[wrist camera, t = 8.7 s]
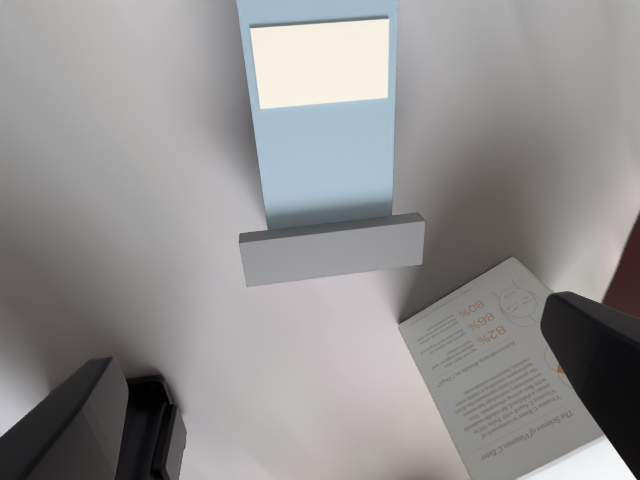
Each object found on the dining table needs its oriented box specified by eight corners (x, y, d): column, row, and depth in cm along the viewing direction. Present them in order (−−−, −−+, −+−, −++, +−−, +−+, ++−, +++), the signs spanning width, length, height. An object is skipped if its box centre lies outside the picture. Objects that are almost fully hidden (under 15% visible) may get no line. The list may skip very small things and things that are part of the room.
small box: (432, 373, 27) (523, 553, 18) (394, 322, 24) (477, 503, 15) (542, 312, 26) (700, 472, 17) (513, 252, 23) (683, 402, 14)
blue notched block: (249, 235, 20) (247, 291, 16) (195, -94, 14) (169, -144, 10) (388, 219, 21) (421, 268, 17) (396, -102, 15) (453, -152, 11)
